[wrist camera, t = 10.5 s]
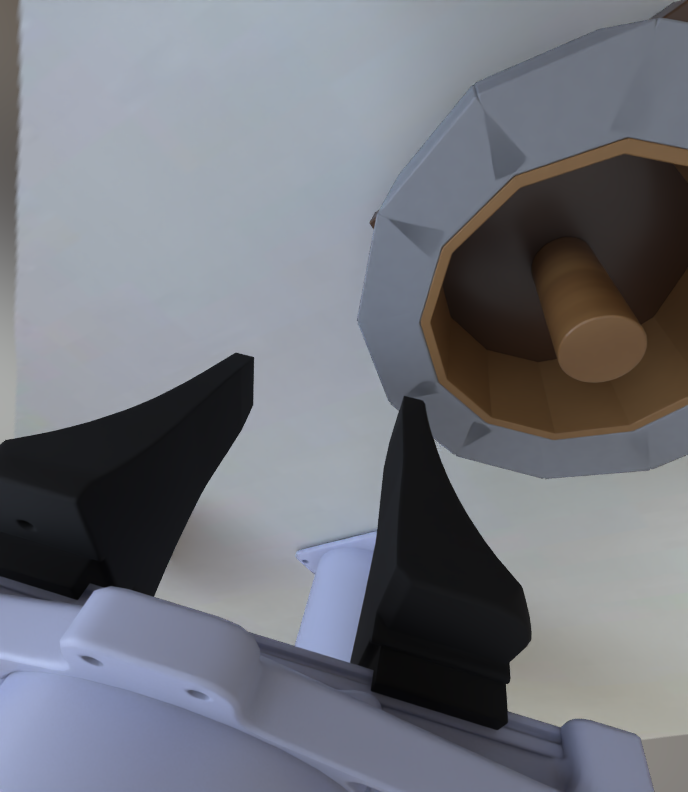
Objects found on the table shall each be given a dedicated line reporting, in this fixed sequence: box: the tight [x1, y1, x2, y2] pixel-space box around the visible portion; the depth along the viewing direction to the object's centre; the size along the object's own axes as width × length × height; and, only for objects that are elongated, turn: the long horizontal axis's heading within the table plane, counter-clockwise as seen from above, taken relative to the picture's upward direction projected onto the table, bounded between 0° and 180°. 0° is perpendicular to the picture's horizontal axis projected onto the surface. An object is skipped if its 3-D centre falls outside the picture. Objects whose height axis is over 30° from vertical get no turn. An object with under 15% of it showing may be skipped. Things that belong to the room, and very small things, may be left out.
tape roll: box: [357, 18, 688, 479], centre depth 14 cm, size 13×13×4 cm
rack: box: [370, 0, 688, 383], centre depth 13 cm, size 10×10×7 cm
